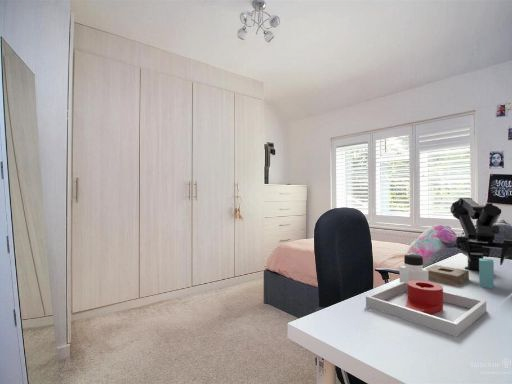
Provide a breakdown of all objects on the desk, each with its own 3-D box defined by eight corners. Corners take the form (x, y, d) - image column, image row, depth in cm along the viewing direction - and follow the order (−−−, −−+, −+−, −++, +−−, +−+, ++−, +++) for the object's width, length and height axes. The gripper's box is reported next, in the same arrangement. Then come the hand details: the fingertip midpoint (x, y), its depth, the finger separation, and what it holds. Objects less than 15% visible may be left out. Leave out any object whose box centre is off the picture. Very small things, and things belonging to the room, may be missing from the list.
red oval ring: (413, 298, 95) (413, 278, 95) (446, 306, 88) (446, 285, 88) (392, 315, 82) (392, 291, 82) (429, 325, 76) (429, 300, 76)
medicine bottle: (429, 290, 102) (428, 257, 102) (408, 290, 102) (408, 256, 102) (418, 284, 109) (417, 252, 109) (399, 284, 110) (399, 252, 110)
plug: (479, 284, 108) (479, 258, 108) (493, 286, 106) (492, 259, 106) (479, 287, 105) (479, 260, 105) (493, 289, 103) (493, 261, 103)
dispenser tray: (403, 289, 103) (403, 281, 103) (486, 311, 84) (486, 301, 84) (365, 306, 88) (365, 296, 88) (456, 336, 69) (456, 324, 69)
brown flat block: (435, 274, 123) (435, 264, 123) (468, 280, 113) (468, 270, 113) (423, 279, 115) (423, 269, 115) (458, 287, 106) (457, 276, 106)
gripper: (456, 217, 120) (455, 247, 112) (516, 219, 109) (519, 253, 100) (457, 233, 127) (456, 263, 118) (514, 237, 115) (517, 271, 106)
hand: (485, 262), depth 110 cm, fingers open, 9 cm apart
